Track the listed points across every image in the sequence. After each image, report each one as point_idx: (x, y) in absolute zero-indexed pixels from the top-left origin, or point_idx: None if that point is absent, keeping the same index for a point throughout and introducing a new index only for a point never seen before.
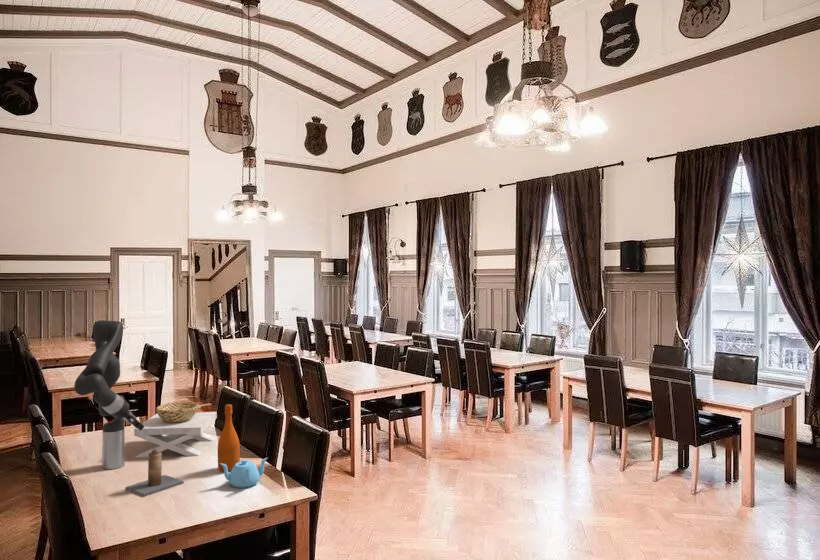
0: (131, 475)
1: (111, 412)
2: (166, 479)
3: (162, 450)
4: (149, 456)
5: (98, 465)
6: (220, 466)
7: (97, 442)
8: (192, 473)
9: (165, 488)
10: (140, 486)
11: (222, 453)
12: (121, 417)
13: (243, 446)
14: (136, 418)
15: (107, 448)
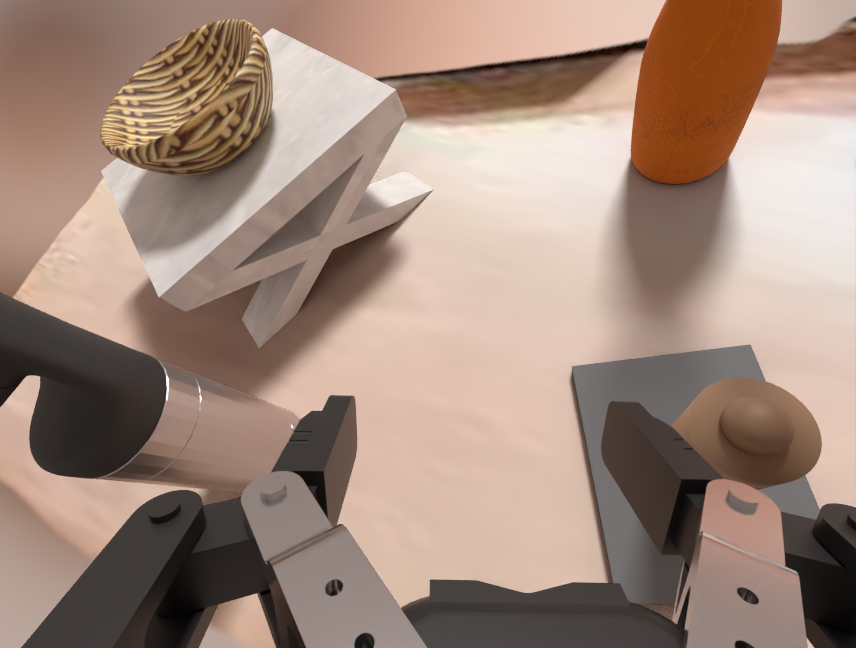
0: (429, 458)
1: None
2: (654, 391)
3: (321, 266)
4: (769, 486)
5: None
6: (699, 169)
7: None
8: (619, 270)
9: None
10: None
11: (735, 109)
12: (83, 363)
13: (464, 74)
14: (795, 575)
15: (206, 479)
